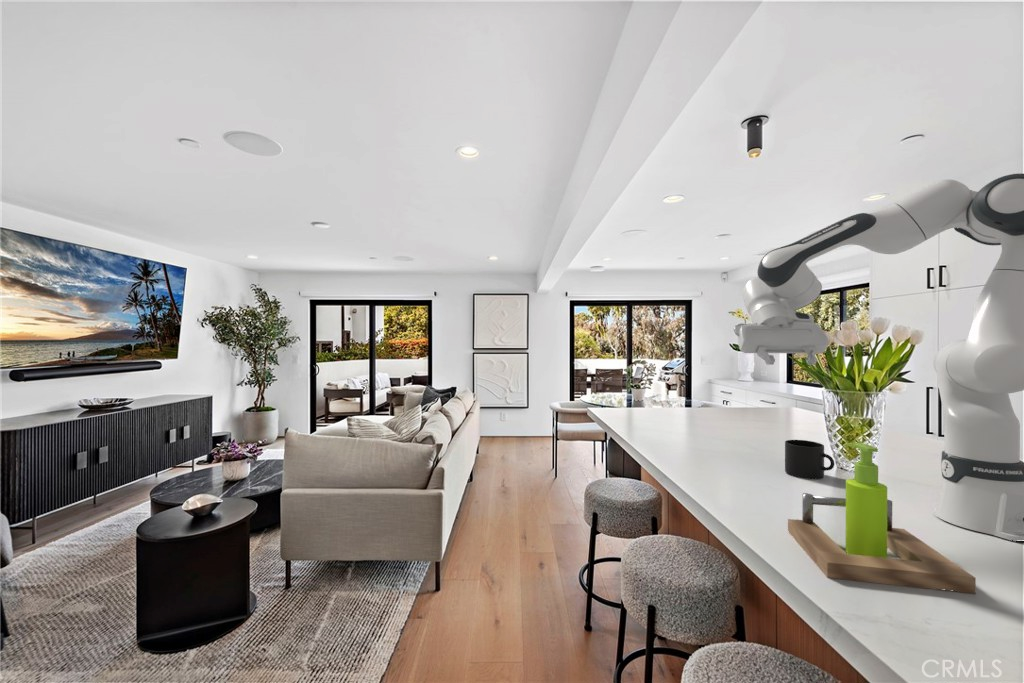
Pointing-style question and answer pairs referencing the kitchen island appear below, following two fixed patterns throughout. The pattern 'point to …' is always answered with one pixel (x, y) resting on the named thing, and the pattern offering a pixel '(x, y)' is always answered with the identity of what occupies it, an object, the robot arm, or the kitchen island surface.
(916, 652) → the kitchen island surface
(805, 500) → the steel rail
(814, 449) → the mug
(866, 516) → the soap dispenser
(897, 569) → the walnut board
